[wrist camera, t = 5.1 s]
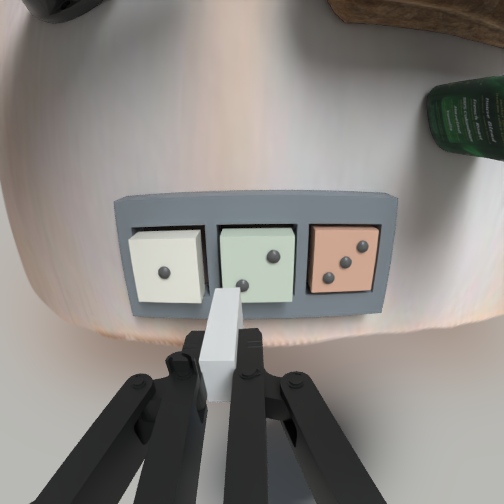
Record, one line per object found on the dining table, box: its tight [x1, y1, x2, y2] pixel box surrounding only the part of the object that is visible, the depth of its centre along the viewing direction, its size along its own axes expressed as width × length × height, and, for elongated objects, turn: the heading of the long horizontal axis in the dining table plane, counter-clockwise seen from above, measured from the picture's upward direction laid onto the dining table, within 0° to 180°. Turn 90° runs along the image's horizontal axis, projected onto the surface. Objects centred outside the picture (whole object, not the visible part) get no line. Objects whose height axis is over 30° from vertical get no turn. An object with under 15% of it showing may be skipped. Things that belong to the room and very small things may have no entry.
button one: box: [128, 230, 205, 303], centre depth 26 cm, size 6×6×3 cm
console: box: [114, 190, 398, 319], centre depth 28 cm, size 26×12×3 cm, turn 91°
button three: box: [307, 224, 379, 293], centre depth 27 cm, size 6×6×3 cm
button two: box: [220, 228, 295, 303], centre depth 26 cm, size 6×6×3 cm
